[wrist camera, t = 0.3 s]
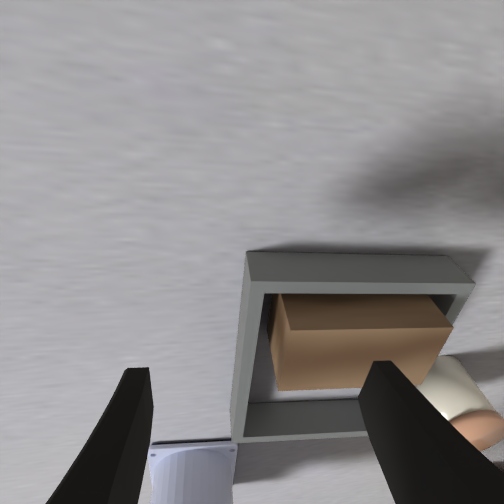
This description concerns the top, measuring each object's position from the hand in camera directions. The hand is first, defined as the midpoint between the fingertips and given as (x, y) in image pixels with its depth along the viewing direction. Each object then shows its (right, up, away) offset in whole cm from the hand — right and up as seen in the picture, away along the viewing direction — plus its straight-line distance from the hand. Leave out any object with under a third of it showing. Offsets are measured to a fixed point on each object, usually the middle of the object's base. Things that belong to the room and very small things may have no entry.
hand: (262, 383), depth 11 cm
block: (+5, +1, +12) cm, 13 cm away
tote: (+5, -2, +14) cm, 15 cm away
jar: (+15, -6, +18) cm, 24 cm away
